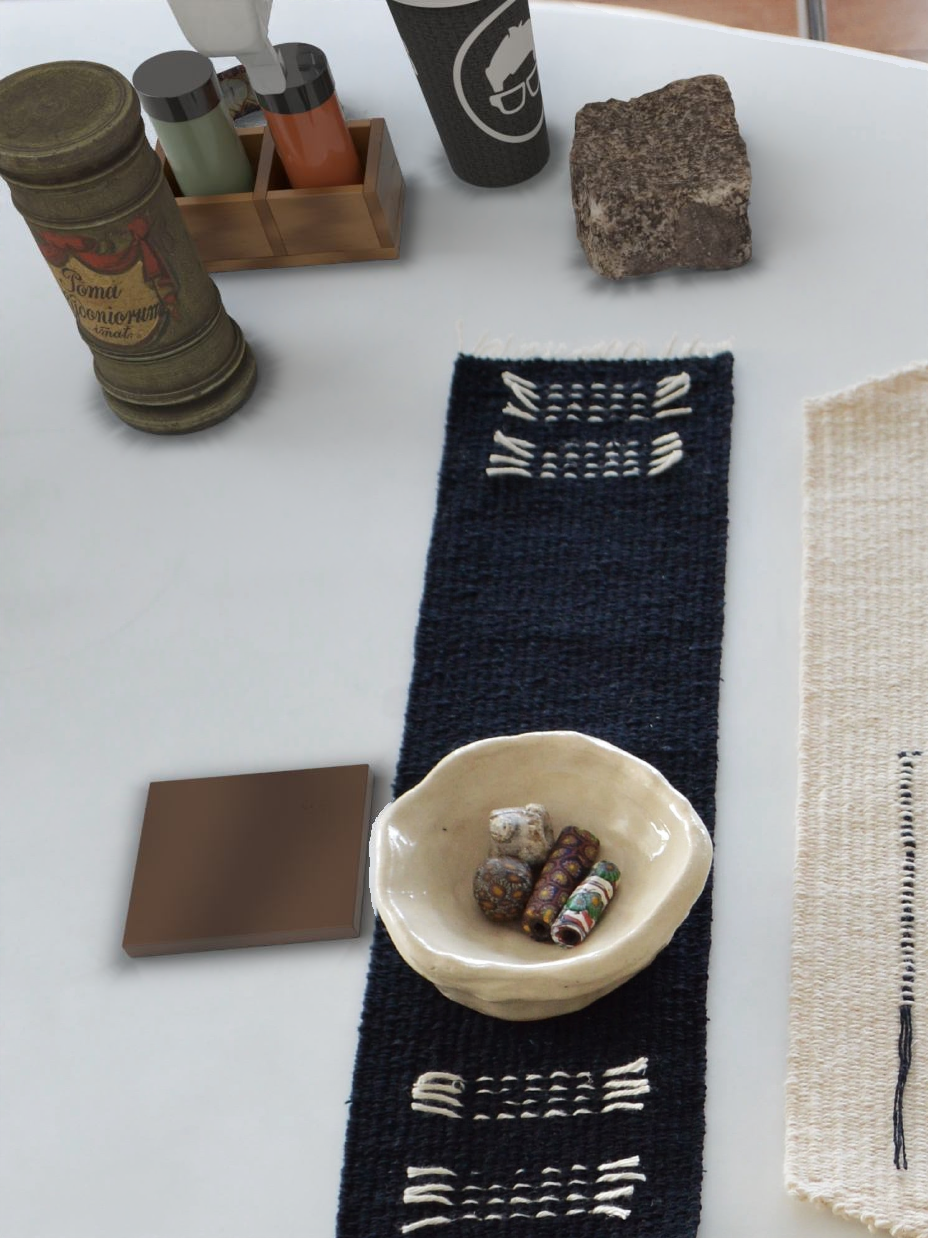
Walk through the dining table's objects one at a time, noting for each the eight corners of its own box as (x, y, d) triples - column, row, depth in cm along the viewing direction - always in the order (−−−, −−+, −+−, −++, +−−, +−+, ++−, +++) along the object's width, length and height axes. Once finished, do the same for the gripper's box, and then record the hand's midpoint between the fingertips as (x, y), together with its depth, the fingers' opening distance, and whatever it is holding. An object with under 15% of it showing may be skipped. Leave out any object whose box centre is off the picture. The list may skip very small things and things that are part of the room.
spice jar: (298, 241, 116) (241, 92, 108) (305, 194, 119) (250, 45, 110) (374, 235, 117) (323, 86, 108) (380, 189, 119) (330, 39, 110)
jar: (192, 249, 116) (126, 100, 108) (201, 201, 118) (137, 52, 110) (268, 243, 116) (208, 94, 108) (275, 196, 119) (217, 47, 110)
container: (130, 333, 113) (-10, 52, 98) (276, 335, 113) (158, 54, 98) (88, 436, 109) (-66, 158, 93) (240, 438, 108) (111, 160, 93)
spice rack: (172, 275, 116) (141, 208, 112) (187, 201, 120) (157, 133, 116) (398, 258, 117) (375, 191, 112) (406, 185, 120) (384, 117, 116)
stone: (756, 182, 111) (764, 269, 116) (726, 61, 118) (734, 148, 123) (570, 201, 110) (585, 289, 115) (550, 78, 117) (566, 165, 122)
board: (129, 957, 90) (120, 946, 89) (157, 793, 95) (149, 781, 94) (359, 937, 90) (352, 926, 89) (374, 775, 95) (368, 763, 94)
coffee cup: (557, 100, 125) (504, -131, 112) (586, 184, 120) (535, -47, 107) (416, 129, 123) (345, -102, 111) (440, 216, 119) (369, -15, 106)
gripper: (153, -313, 101) (247, -58, 113) (95, -108, 91) (205, 149, 102) (270, -321, 101) (351, -66, 113) (225, -118, 91) (320, 140, 103)
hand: (281, 38), depth 108 cm, fingers open, 8 cm apart
